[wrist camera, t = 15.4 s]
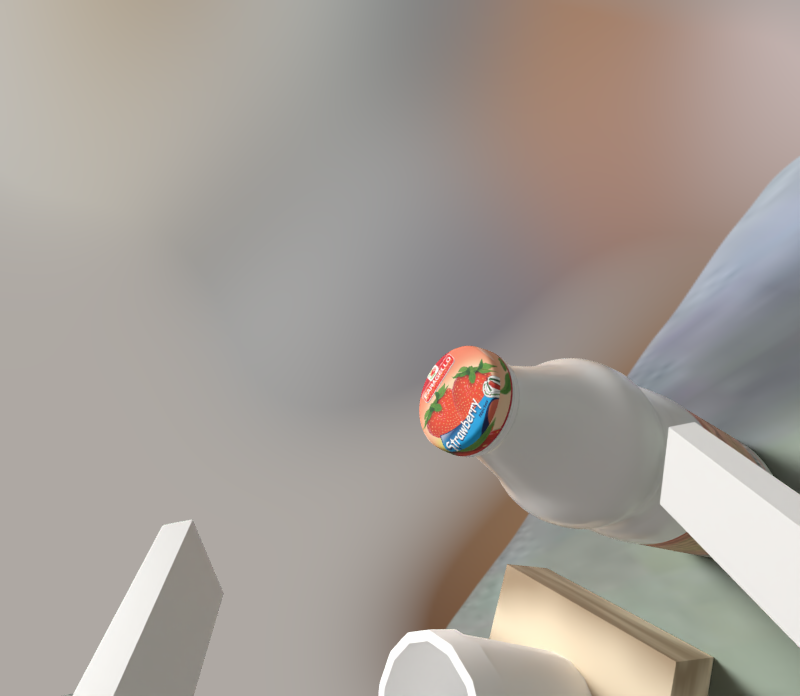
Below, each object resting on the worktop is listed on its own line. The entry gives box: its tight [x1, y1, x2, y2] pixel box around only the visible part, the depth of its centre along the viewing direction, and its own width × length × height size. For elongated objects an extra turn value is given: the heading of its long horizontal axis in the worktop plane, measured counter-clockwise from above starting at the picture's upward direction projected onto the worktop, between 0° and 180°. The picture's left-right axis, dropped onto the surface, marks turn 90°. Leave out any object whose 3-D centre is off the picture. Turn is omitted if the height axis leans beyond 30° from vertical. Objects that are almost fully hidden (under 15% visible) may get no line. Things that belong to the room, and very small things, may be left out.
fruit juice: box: [419, 346, 773, 557], centre depth 26 cm, size 9×9×28 cm
